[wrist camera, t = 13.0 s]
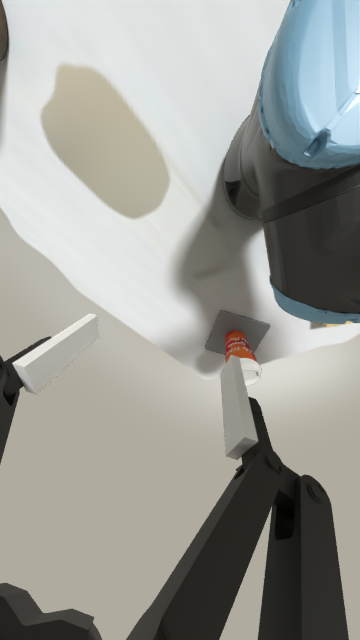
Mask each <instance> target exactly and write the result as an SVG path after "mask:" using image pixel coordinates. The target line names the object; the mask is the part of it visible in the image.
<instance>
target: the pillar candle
mask: <svg viewBox="0 0 360 640" xmlns="http://www.w3.org/2000/svg"><path fill="white" fill-rule="evenodd" d="M7 36H8V34H7V25H6V18H5V13H4V8H3V4H2V2H1V0H0V60H1V59H3V57H4V56H5V53H6V50H7V42H8V37H7Z"/></svg>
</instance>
